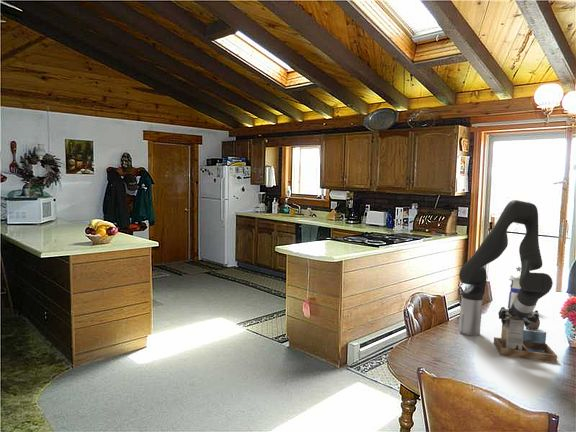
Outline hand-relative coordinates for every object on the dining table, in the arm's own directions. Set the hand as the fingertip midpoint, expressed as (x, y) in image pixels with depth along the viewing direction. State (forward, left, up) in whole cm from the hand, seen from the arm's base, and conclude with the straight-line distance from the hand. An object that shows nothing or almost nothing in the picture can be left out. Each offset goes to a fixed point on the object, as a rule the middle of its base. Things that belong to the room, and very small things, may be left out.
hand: (514, 323), depth 180 cm
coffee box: (0, +2, -13) cm, 13 cm away
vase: (+18, +38, -13) cm, 44 cm away
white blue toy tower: (+19, +75, -13) cm, 79 cm away
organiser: (+5, +2, -13) cm, 14 cm away
